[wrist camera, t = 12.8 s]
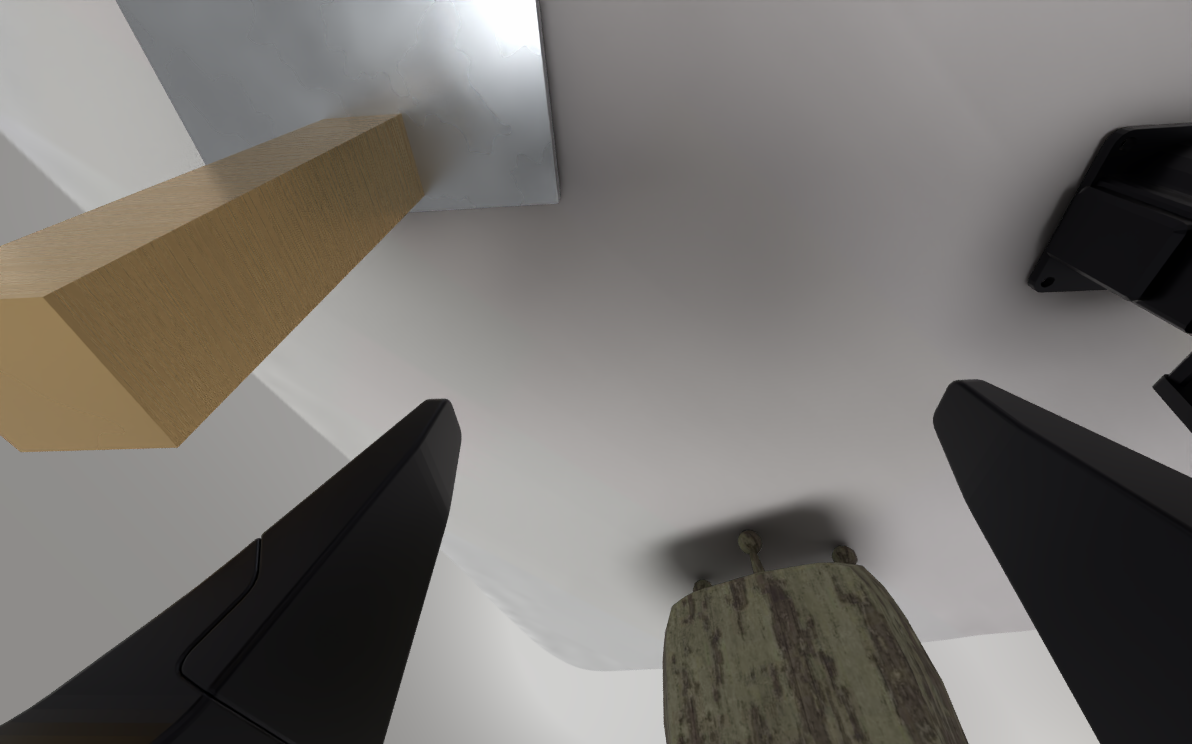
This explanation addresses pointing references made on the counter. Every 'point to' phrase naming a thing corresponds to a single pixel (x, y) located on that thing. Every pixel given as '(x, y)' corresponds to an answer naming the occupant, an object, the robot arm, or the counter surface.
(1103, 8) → the counter surface
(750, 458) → the counter surface
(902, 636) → the tabletop clock
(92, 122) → the counter surface
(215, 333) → the grey plate wooden post
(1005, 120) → the counter surface
